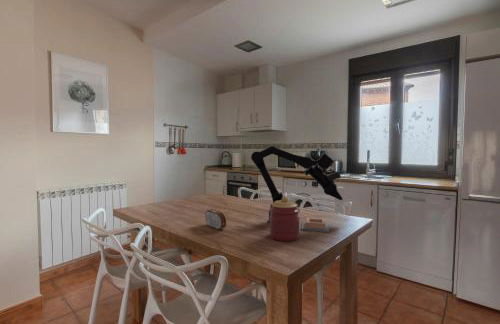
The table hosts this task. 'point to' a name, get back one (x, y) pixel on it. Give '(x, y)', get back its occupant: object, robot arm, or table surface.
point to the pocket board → (315, 225)
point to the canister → (284, 220)
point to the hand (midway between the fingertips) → (341, 199)
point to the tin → (215, 219)
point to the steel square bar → (339, 201)
